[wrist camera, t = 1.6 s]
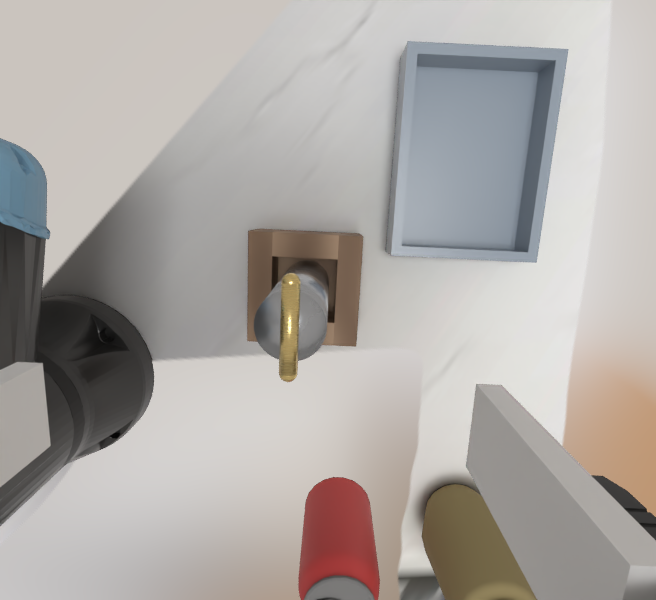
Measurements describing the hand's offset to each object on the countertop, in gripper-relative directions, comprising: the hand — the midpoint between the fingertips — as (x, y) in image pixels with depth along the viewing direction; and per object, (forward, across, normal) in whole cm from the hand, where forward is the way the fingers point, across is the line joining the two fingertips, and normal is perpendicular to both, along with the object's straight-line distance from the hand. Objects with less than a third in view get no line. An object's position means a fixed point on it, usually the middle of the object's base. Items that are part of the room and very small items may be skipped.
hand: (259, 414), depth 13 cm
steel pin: (+25, 0, 0) cm, 25 cm away
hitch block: (+26, 0, 0) cm, 26 cm away
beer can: (+26, +4, -23) cm, 35 cm away
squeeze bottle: (+26, +16, -23) cm, 39 cm away
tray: (+26, +13, +11) cm, 31 cm away
